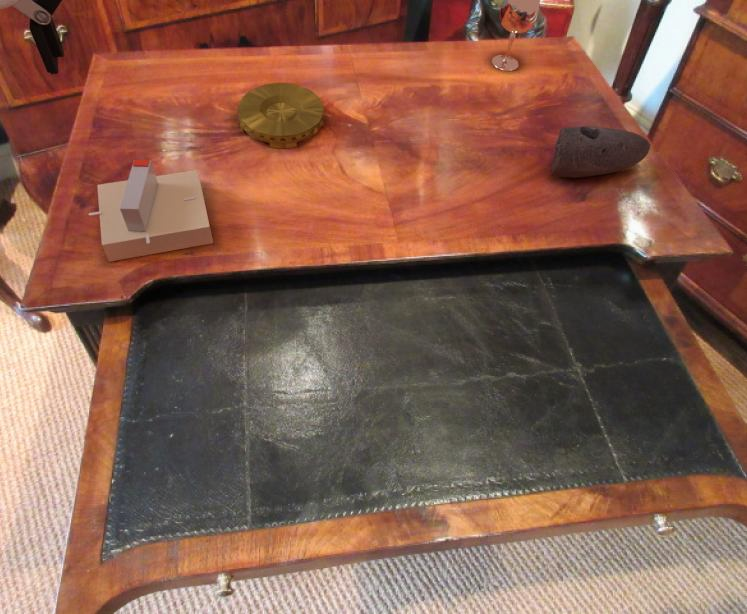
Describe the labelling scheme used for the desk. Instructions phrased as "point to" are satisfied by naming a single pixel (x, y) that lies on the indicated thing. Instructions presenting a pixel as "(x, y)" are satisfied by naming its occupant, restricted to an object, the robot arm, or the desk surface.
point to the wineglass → (515, 26)
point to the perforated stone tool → (596, 151)
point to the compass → (281, 114)
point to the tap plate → (155, 218)
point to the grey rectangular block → (139, 195)
